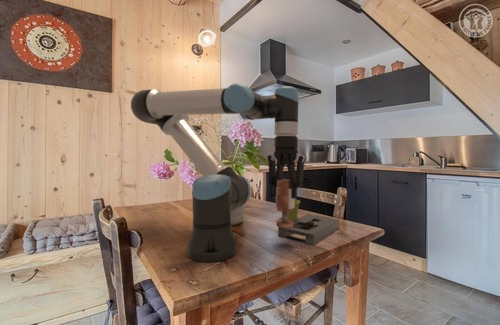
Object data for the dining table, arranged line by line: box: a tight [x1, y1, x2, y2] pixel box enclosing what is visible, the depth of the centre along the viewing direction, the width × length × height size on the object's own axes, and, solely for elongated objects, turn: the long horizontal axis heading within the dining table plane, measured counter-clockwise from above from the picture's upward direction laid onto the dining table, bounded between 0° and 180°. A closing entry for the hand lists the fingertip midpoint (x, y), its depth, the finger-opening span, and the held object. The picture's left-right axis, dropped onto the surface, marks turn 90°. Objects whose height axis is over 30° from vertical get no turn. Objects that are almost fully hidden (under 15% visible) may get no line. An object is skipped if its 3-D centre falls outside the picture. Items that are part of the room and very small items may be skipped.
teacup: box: [231, 204, 245, 226], centre depth 108 cm, size 14×11×8 cm
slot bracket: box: [277, 214, 340, 246], centre depth 94 cm, size 14×24×3 cm, turn 140°
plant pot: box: [288, 199, 301, 221], centre depth 112 cm, size 9×9×9 cm
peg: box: [276, 178, 294, 228], centre depth 80 cm, size 6×6×15 cm
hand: (285, 206), depth 80 cm, fingers closed on peg, 4 cm apart
